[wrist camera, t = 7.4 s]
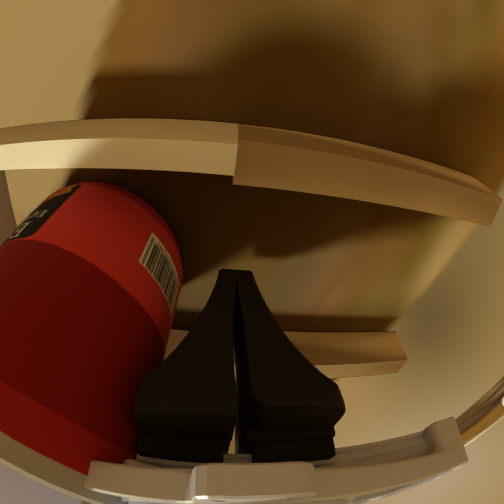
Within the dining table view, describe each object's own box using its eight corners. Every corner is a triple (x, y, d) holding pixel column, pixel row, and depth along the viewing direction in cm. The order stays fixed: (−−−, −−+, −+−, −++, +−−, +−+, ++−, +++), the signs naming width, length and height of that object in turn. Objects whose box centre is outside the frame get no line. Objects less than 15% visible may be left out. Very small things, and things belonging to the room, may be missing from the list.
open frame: (215, 343, 18) (213, 384, 16) (39, 318, 17) (23, 352, 15) (237, 123, 11) (238, 144, 9) (-14, 130, 10) (-53, 153, 7)
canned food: (64, 144, 11) (-128, 350, 2) (219, 235, 13) (180, 523, 4) (35, 259, 14) (-56, 424, 6) (151, 324, 17) (109, 508, 8)
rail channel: (386, 344, 20) (397, 372, 18) (215, 343, 18) (213, 377, 16) (473, 176, 12) (502, 199, 10) (237, 123, 11) (238, 140, 9)
